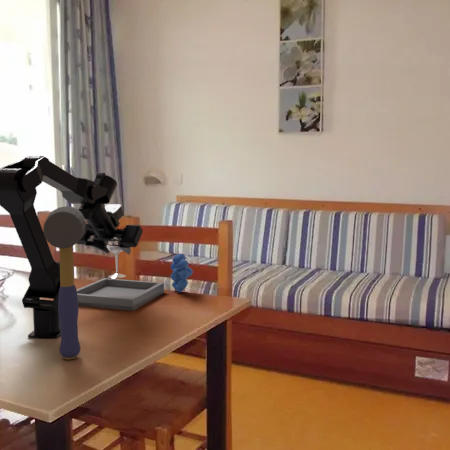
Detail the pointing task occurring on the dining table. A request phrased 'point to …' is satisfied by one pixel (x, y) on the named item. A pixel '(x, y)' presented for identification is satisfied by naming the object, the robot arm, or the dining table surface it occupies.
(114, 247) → the wineglass
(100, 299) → the tray
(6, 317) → the dining table surface
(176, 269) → the grapes
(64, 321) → the rubber mallet
